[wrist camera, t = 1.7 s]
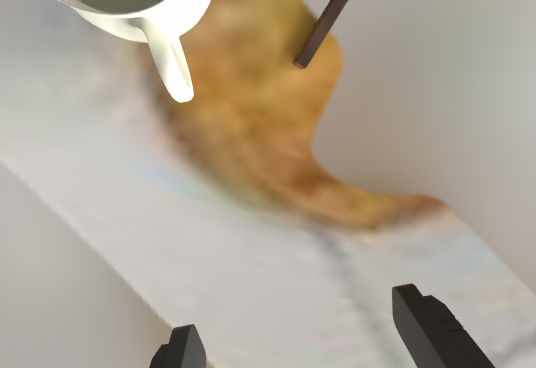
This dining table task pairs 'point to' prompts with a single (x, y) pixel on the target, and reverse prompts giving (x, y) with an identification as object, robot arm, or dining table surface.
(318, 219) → the dining table surface
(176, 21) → the pitcher
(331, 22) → the bay
